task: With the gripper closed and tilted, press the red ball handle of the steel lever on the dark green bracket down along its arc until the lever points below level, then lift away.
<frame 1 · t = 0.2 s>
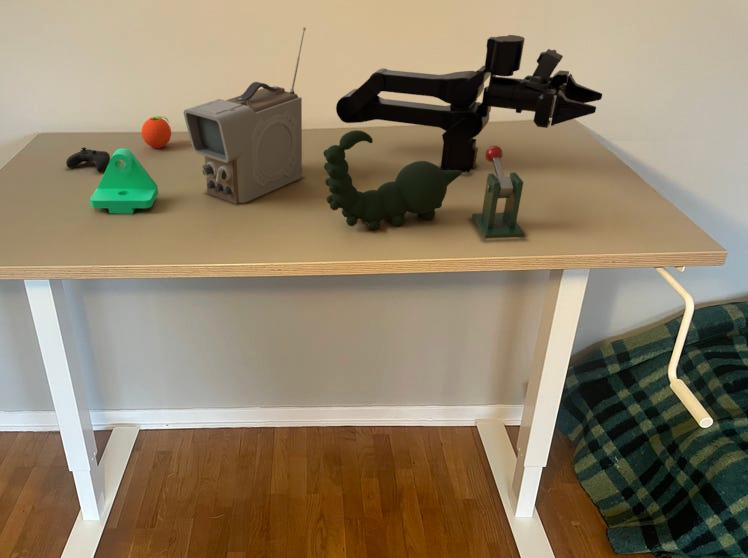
hand: (598, 103, 139), 17 cm above the table, tool horizontal, fingers open, 9 cm apart
clementine: (159, 147, 174), on the table
camera mount: (125, 206, 146), on the table
lever: (498, 170, 131), point 10 cm above the table, hinge at 22.0°
toy figurine: (390, 223, 137), on the table
portable television: (251, 188, 152), on the table
bracket: (496, 229, 133), on the table
gaming controller: (91, 167, 165), on the table
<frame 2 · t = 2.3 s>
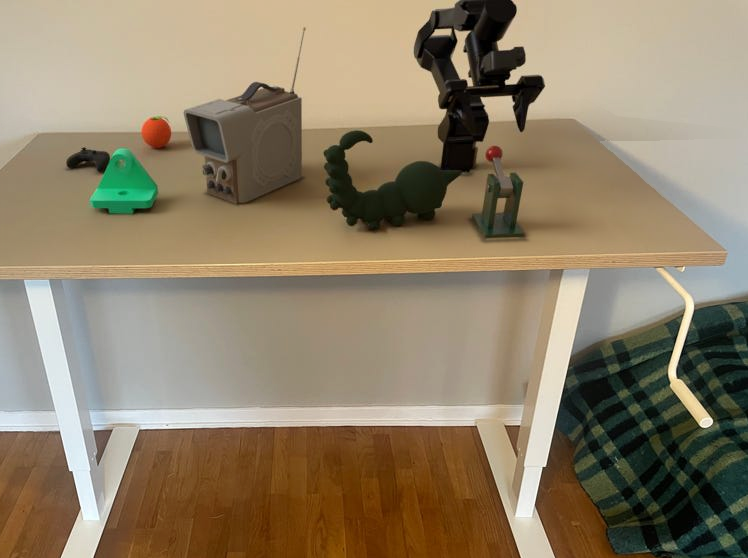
hand: (498, 132, 135), 14 cm above the table, tool tilted 50°, fingers open, 9 cm apart
nothing on the table moved.
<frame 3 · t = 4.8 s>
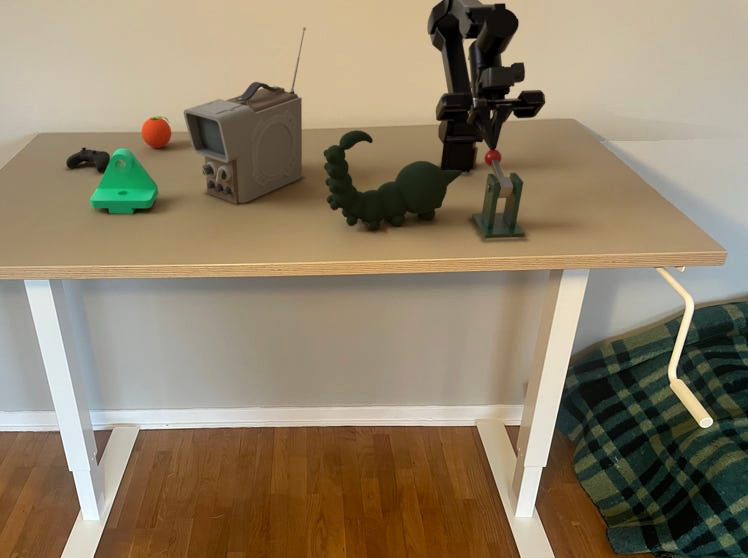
hand: (493, 149, 134), 12 cm above the table, tool tilted 45°, fingers closed, pressing on lever
lever: (498, 172, 131), point 9 cm above the table, hinge at 16.2°, touching gripper
everything else where it was.
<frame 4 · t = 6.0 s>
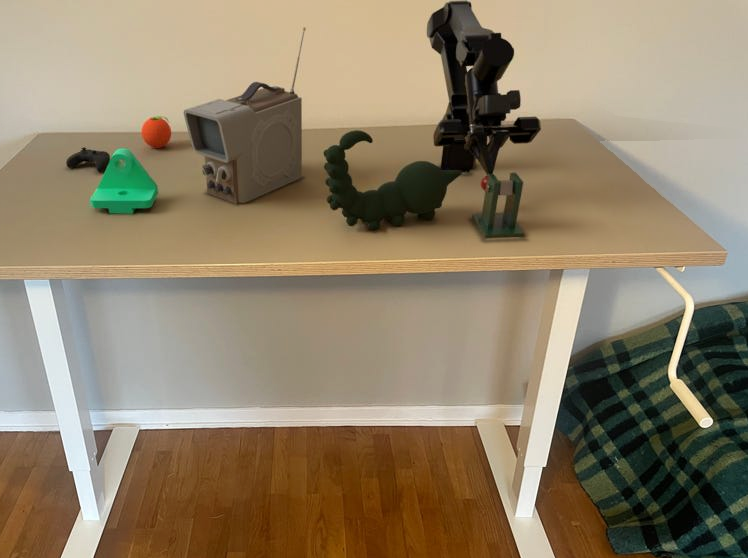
hand: (490, 174, 136), 7 cm above the table, tool tilted 45°, fingers closed, pressing on lever
lever: (496, 185, 133), point 7 cm above the table, hinge at -17.0°, touching gripper
everything else where it was.
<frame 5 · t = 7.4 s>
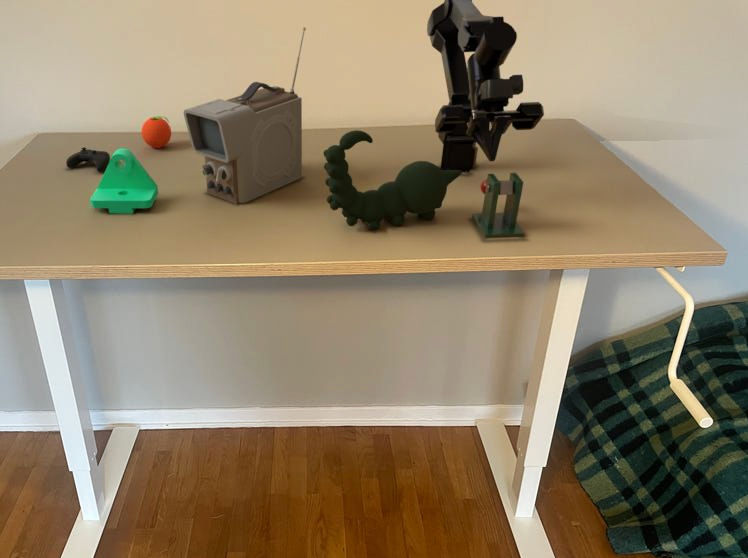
hand: (492, 160, 134), 10 cm above the table, tool tilted 45°, fingers closed
lever: (496, 187, 133), point 6 cm above the table, hinge at -21.4°
everything else where it was.
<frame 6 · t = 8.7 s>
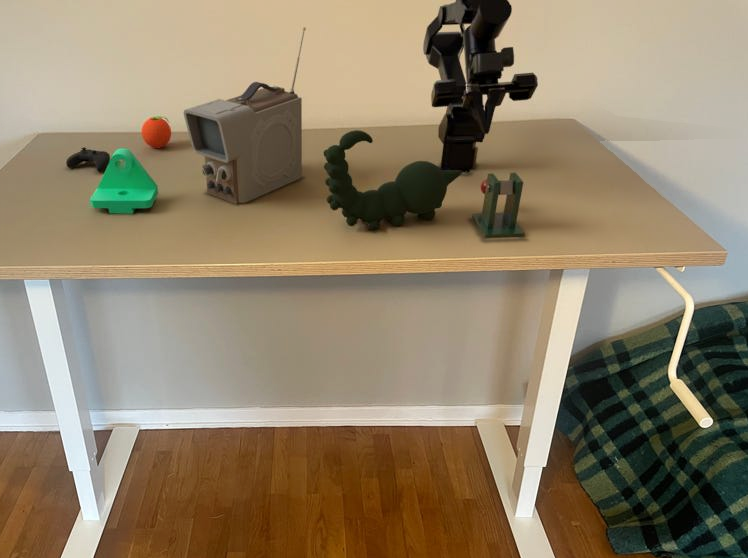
hand: (486, 133, 137), 13 cm above the table, tool tilted 45°, fingers closed
nothing on the table moved.
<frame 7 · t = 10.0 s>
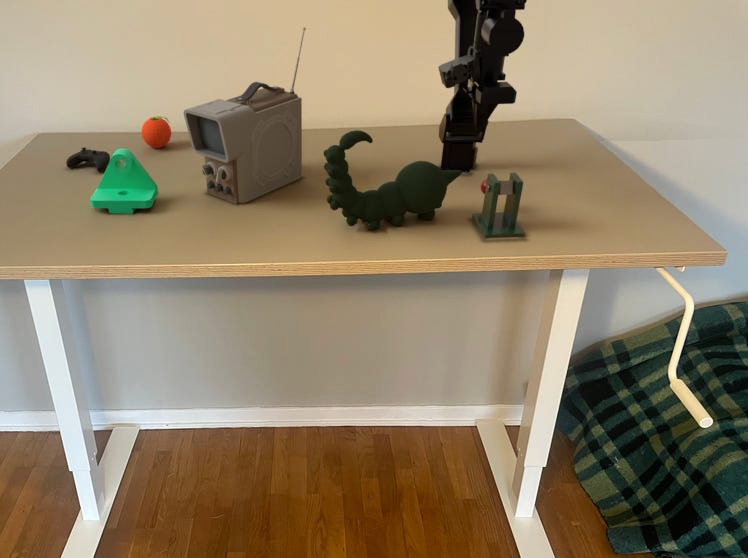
hand: (478, 129, 139), 13 cm above the table, tool pointing down, fingers closed
nothing on the table moved.
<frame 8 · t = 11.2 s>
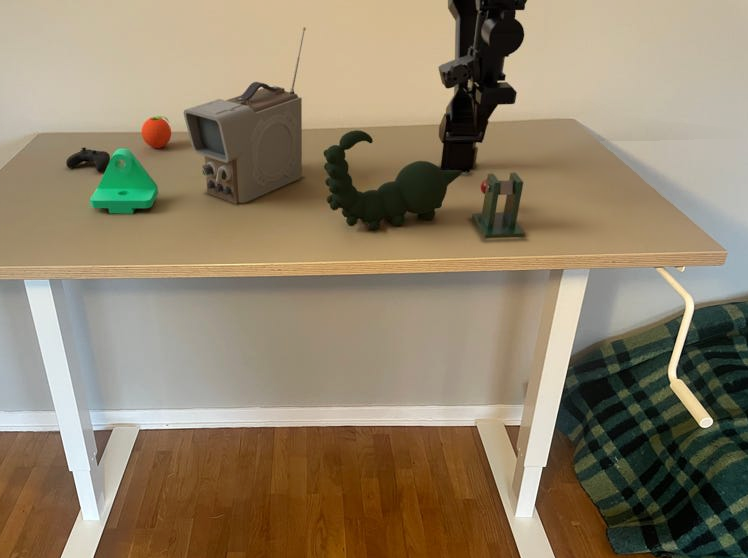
hand: (478, 129, 139), 13 cm above the table, tool pointing down, fingers closed
nothing on the table moved.
at the end: lever at -21° (first picture: +22°) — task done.
